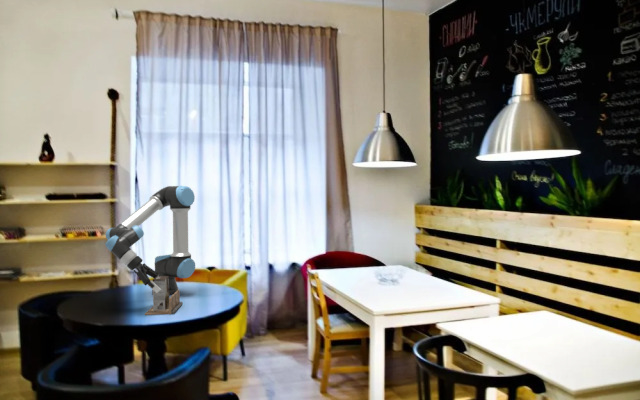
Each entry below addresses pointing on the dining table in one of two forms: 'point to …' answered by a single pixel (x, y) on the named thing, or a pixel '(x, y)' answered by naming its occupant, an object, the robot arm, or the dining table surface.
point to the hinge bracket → (173, 305)
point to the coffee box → (161, 293)
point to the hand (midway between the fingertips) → (162, 288)
